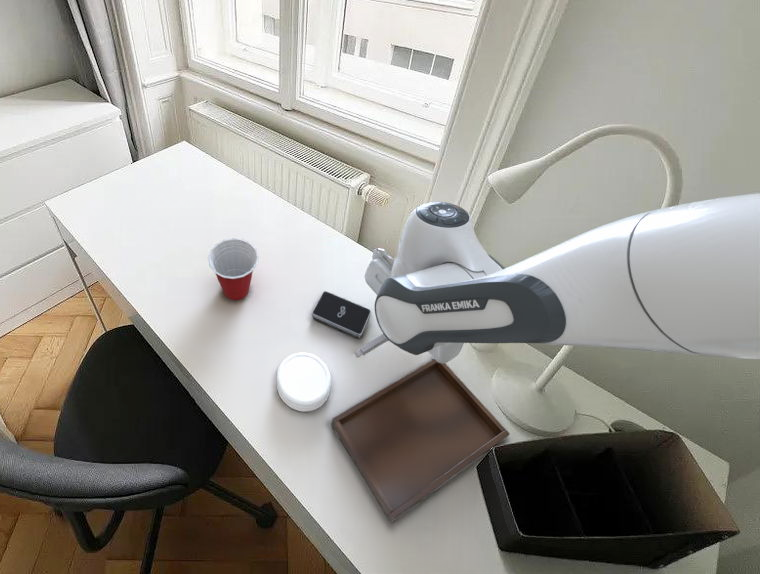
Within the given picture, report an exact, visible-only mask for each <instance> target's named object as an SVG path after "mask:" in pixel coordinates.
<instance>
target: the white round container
mask: <svg viewBox="0 0 760 574" xmlns="http://www.w3.org/2000/svg"><path fill="white" fill-rule="evenodd" d="M331 386H332V375H331V373H330V370H329V368H328V366H327V364H326V362H324V360H322V359H321V358H320V357H319V356H317V355H315V354H313V353H310V352H295V353H292V354H289V355H288V356H287V357H285V358H284V359H283V361H281V363H280V364H279V366H278V368H277V371H276V388H277V392H278V395H279V397H280V398H281V400H282V401H283V403H284V404H285V405H287V406H288V407H289V408H290V409H293V410H295V411H298V412H304V413H306V412H313V411H315V410H317V409H320V408H321V407H322V406H323V405H324V404H325V403H326V402H327V400H328V398H329V396H330V393H331Z"/></svg>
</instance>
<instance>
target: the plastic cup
mask: <svg viewBox="0 0 760 574" xmlns="http://www.w3.org/2000/svg"><path fill="white" fill-rule="evenodd" d="M259 257H260V256H259V253H258V249H257V248H256V247H255V246H254V245H253V244H252V242H250V241H248V240H246V239H244V238H238V237H231V238H225V239H223V240H221V241H219V242H217V243H215V244H214V246H213V247H212V248H211V249H210V250H209V253H208V257H207V261H208V266H209V267H210V269H211V270H212V271H213V273H214V274H215V276H216V279H217V281H218V283H219V285H220V287H221V289H222V292H223V294H224V295H225V296H226V299H229V300H231V301H239V300H242V299H244V298H245V297H246V296H247V295H248V294H249V290H250V286H251V282H252V278H253V272H254V270H255V269H256V267H257V266H258V263H259Z"/></svg>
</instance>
